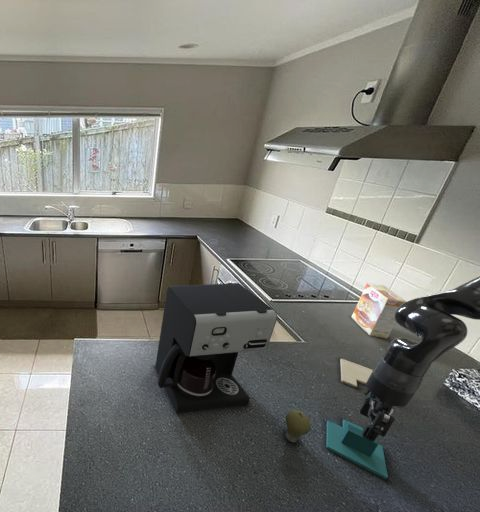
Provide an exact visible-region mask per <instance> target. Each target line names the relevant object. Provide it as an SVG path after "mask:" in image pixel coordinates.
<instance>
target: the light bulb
mask: <svg viewBox="0 0 480 512" xmlns="http://www.w3.org/2000/svg"><path fill="white" fill-rule="evenodd" d="M285 425H286V434H285V438H286V440H288V441H289V442H291V443H297V440H298V439H299V438H301V436H304V435H307V434H309V432H310V431H311V428H312V423H311V421H310V418H309V417H308V416H307V415H306V414H305V413H304V412H302V411H299V410H294V409H293V410H290V411H287V413H286V415H285Z"/></svg>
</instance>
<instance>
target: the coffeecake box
mask: <svg viewBox="0 0 480 512" xmlns="http://www.w3.org/2000/svg"><path fill="white" fill-rule="evenodd" d="M407 301H408V300H405V299H404V298H403V297H402V296H400V295H398V294H397V293H396V292H394V291H393V290H391V289H390V288H388V287H387V286H385V285H381V284H375V283H371V282H370V283H368V282H367V283H366V284H365V286H364V289H363V291H362V293H361V295H360V297H359V300H358V302H357V304H356V306H355V308H354V311H353V312H352V315H351V319H352V320H353V321H354V322H355V323H356V324H357V325H358V326H359V327H360V328H361V329H362V330H363V331H364V332H366V334H368V335H369V336H371V337H378V338H383V339H389V337H390V334H391V333H392V331H393V329H394V327H395V325H396V324H397V322H396V320H395V318H394V314H395V311H396V310H397V308H398V307H399V306H401V305H402V304H403V303H405V302H407Z"/></svg>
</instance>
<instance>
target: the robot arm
mask: <svg viewBox="0 0 480 512" xmlns="http://www.w3.org/2000/svg"><path fill="white" fill-rule="evenodd" d="M406 301H407V302H405V303H403V304H402V305H401V306H399V307H398V308H397V310H396V311H395V314H394V318H395V320H396V324H398V325H399V326H401V327H402V328H403V329H405V330H407V331H409V333H412V334H413V335H415V336H417V337H418V338H420V341H419V342H418V341H416V340H413V339H411V338H406V337H396V338H394V339H392V340H391V341H390V343H389V345H388V346H387V348H386V349H385V351H384V353H383V355H382V356H381V358H380V359H379V360H378V361H377V362H376V364H375V366H374V368H373V369H372V370H373V371H372V373H371V375H370V377H369V379H368V380H367V382H366V385H365V386H366V388H367V389H366V390H365V392H364V393H363V394H364V396H365V397H364V399H363V404H362V406H361V408H360V409H359V414H360V415H362V416H365V417H366V418H369V419H368V421H367V425H366V426H365V428H364V429H363V431H364V432H363V433H362V435H363V437H364V438H366V439H368V440H370V441H375V439H376V438H377V439H378V436H380V437H383V438H385V436H387V433H388V431H389V430H390V428H392V427H391V426H392V425H393V423H394V422H395V420H396V419H395V416H393V415H392V414H393V413H394V410H395V408H394V407H406V406H407V405H408V404H409V403H410V401H411V400H412V398H413V397H414V395H415V394H416V392H417V391H418V389H419V388H420V387H421V385H422V382H423V380H424V377H425V375H426V373H427V372H428V371H429V369H430V368H431V366H432V365H433V363H434V362H436V361H437V360H438V359H439V358H440V357H442V356H444V355H445V354H446V353H447V352H449V351H450V350H453V349H454V348H455V347H457V346H458V345H460V344H461V343H463V342H464V340H466V338H467V337H468V326H467V325H466V323H465V322H464V321H463V320H462V319H461V318H459V317H457V316H460V317H464V318H467V319H471V320H476V321H480V275H478V276H477V277H475V278H473V279H470V280H468V281H466V282H465V283H462V284H460V285H458V286H457V287H455V288H452V289H449V290H445V291H441V292H435V293H432V294H428V295H424V296H420V297H417V298H412V299H410V300H406ZM455 315H456V316H455Z"/></svg>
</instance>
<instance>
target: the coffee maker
mask: <svg viewBox="0 0 480 512" xmlns="http://www.w3.org/2000/svg"><path fill="white" fill-rule="evenodd" d="M166 289H167V290H166V295H165V301H164V308H163V314H162V321H161V326H160V327H161V328H160V333H159V340H158V347H157V354H156V360H155V366H154V369H155V371H156V373H157V375H158V379H157V385H158V387H159V388H160V389H164V390H165V392H166V395H167V396H168V398H169V400H170V403H171V405H172V407H173V409H174V411H175V413H176V414H182V413H190V412H199V411H207V410H215V409H224V408H233V407H241V406H247V405H249V402H250V396H249V395H248V394H247V392H246V391H245V389H243V387H242V386H241V385H240V383H239V382H238V381H237V379H236V378H235V376H234V375H233V374H234V373H233V372H234V369H235V365H236V362H237V358H238V355H239V353H243V352H244V353H245V352H253V351H254V352H255V351H265V350H267V349H268V347H269V344H270V342H271V338H272V335H273V333H274V329H275V327H276V324H277V322H278V313H277V312H276V310H275V309H273V308H272V307H271V306H269V304H267V303H266V302H265V301H263V300H262V299H261V298H259V297H258V296H257V295H255V294H254V293H252V292H251V291H250V290H249V289H248V288H246V287H245V286H243V284H241V283H239V282H233V283H211V284H208V283H207V284H186V285H168V287H167V288H166Z"/></svg>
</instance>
